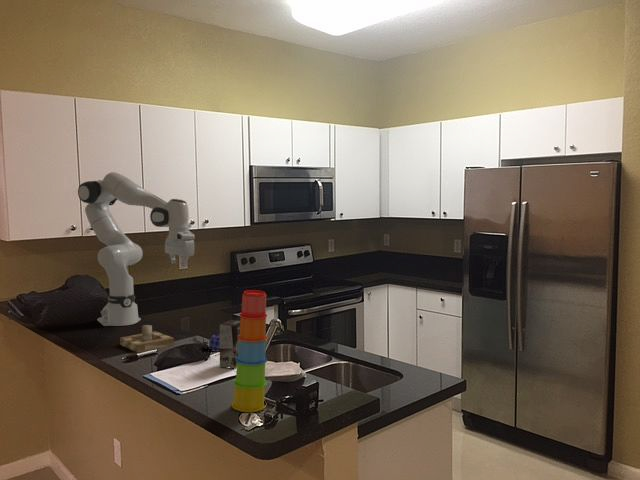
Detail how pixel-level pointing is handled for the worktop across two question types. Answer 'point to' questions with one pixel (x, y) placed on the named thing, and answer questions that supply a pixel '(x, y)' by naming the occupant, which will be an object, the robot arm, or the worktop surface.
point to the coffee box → (229, 343)
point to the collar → (139, 346)
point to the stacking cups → (251, 354)
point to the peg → (146, 333)
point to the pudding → (214, 342)
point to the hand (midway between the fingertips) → (179, 264)
